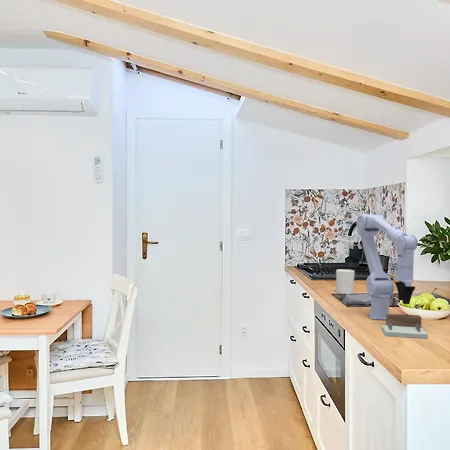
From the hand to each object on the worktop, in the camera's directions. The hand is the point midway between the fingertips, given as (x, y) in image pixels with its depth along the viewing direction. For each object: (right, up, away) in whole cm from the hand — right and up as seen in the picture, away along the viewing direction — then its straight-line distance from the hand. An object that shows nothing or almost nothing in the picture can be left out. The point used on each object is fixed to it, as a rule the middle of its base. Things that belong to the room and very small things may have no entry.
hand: (404, 302), depth 184 cm
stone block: (-4, -8, +46) cm, 47 cm away
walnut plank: (0, -10, 0) cm, 10 cm away
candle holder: (-4, -7, +74) cm, 74 cm away
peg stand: (-4, -10, -11) cm, 15 cm away
